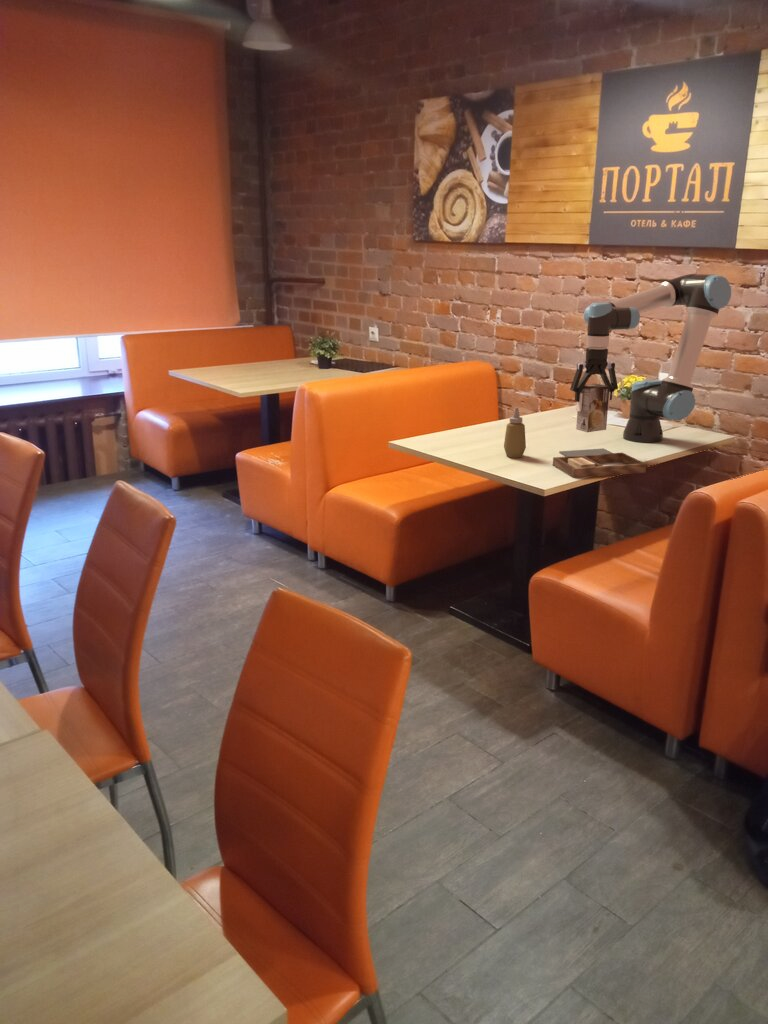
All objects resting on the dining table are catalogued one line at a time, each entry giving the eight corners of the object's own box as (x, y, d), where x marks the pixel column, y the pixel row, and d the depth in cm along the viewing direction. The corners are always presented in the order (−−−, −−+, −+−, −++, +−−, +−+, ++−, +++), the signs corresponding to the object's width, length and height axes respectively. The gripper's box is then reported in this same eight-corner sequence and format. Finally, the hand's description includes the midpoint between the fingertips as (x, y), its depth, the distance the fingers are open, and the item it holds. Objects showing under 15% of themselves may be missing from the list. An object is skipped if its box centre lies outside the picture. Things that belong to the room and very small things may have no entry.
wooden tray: (621, 460, 295) (622, 452, 294) (645, 472, 279) (646, 464, 278) (552, 465, 289) (553, 457, 288) (573, 477, 274) (573, 469, 273)
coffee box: (594, 427, 304) (598, 383, 299) (606, 430, 298) (610, 386, 293) (575, 429, 300) (578, 385, 295) (587, 432, 294) (590, 388, 289)
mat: (603, 449, 310) (603, 448, 310) (620, 458, 298) (620, 456, 298) (559, 452, 306) (559, 451, 306) (574, 461, 294) (574, 459, 294)
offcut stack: (582, 467, 288) (583, 457, 287) (596, 474, 279) (597, 464, 278) (566, 468, 286) (567, 458, 285) (580, 475, 278) (581, 465, 276)
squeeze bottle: (501, 454, 305) (502, 406, 300) (522, 453, 306) (524, 405, 300) (506, 459, 298) (508, 410, 292) (528, 458, 298) (530, 409, 293)
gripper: (621, 345, 296) (616, 406, 303) (562, 347, 291) (559, 409, 298) (631, 348, 289) (626, 410, 296) (572, 350, 284) (567, 413, 291)
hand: (592, 410), depth 297 cm, fingers closed on coffee box, 10 cm apart
